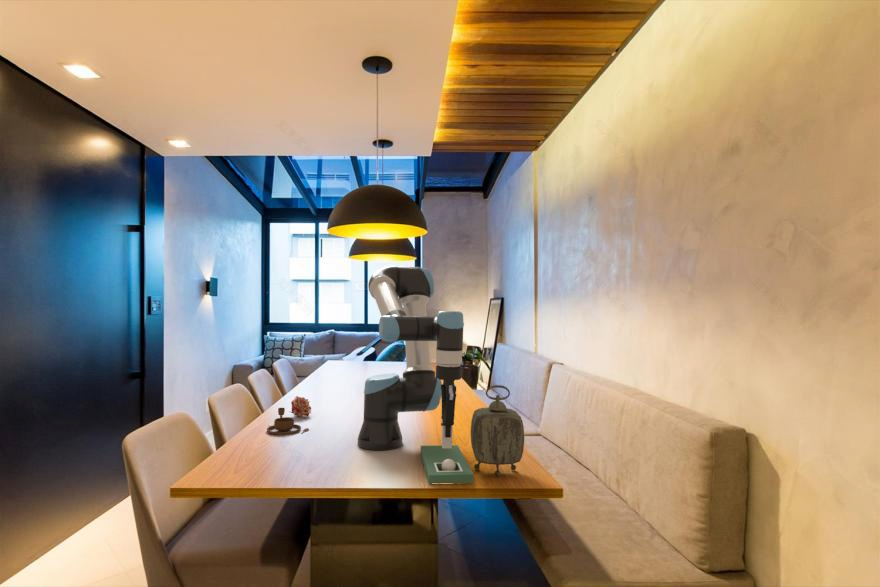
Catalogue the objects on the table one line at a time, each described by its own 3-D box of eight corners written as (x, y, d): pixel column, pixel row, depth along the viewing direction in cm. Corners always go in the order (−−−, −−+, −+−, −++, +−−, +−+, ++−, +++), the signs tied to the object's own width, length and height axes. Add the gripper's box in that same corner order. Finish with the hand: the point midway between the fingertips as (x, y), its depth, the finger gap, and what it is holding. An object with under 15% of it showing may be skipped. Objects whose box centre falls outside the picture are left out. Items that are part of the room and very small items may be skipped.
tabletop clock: (518, 468, 135) (520, 383, 136) (525, 480, 126) (526, 388, 127) (469, 467, 135) (471, 382, 136) (472, 479, 126) (474, 387, 126)
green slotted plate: (428, 484, 121) (428, 475, 121) (420, 453, 147) (420, 445, 147) (473, 483, 122) (473, 474, 122) (457, 453, 148) (457, 445, 148)
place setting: (252, 435, 164) (253, 419, 164) (277, 422, 184) (278, 407, 184) (299, 438, 162) (300, 421, 162) (319, 424, 182) (320, 409, 182)
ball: (441, 477, 128) (442, 467, 126) (440, 465, 131) (441, 455, 129) (455, 477, 128) (457, 467, 126) (454, 465, 132) (455, 455, 130)
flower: (281, 413, 189) (290, 399, 187) (291, 404, 198) (300, 390, 196) (300, 427, 188) (309, 413, 186) (309, 417, 197) (319, 404, 195)
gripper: (466, 368, 125) (463, 455, 125) (458, 361, 138) (456, 440, 138) (438, 368, 124) (436, 455, 124) (433, 361, 137) (431, 440, 137)
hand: (446, 447), depth 131 cm, fingers closed
